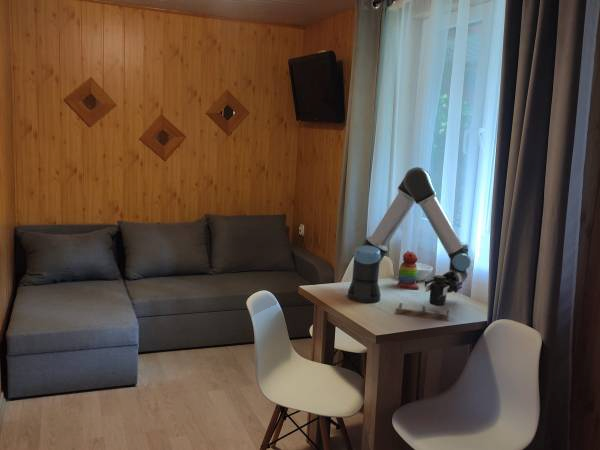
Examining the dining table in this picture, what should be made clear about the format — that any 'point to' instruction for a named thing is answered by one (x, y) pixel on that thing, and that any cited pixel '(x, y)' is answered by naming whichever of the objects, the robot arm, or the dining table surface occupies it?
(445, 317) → the notch rail
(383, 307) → the dining table surface
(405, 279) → the stacking bear
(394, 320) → the dining table surface
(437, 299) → the supplement bottle
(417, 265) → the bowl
